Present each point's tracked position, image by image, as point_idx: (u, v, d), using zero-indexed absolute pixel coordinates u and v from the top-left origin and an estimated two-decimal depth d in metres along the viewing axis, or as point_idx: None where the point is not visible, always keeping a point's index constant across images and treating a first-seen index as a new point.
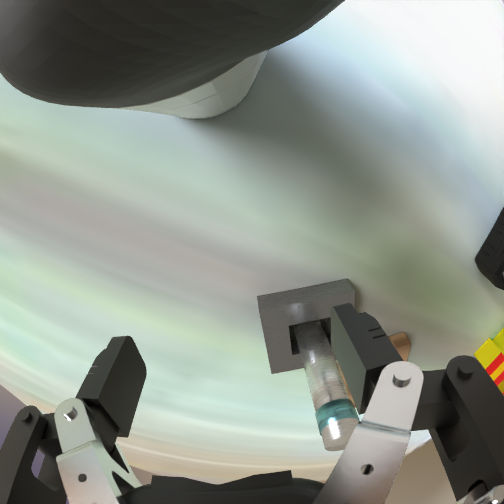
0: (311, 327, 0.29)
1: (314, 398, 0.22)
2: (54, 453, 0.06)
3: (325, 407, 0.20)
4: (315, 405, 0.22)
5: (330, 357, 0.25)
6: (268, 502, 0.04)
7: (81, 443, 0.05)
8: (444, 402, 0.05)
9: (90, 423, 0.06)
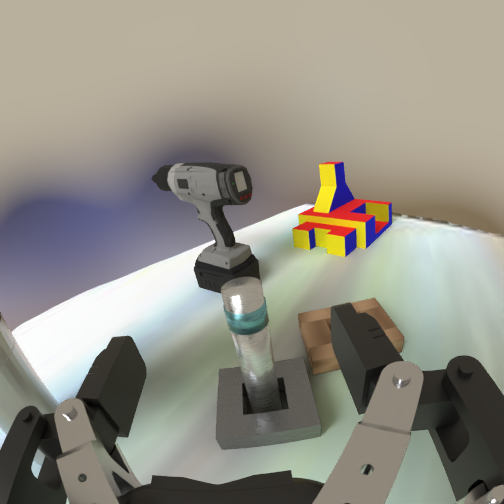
0: (248, 395, 0.27)
1: (245, 347, 0.23)
2: (54, 453, 0.06)
3: (230, 327, 0.23)
4: (245, 341, 0.22)
5: None
6: (268, 502, 0.04)
7: (81, 443, 0.05)
8: (444, 402, 0.05)
9: (90, 423, 0.06)
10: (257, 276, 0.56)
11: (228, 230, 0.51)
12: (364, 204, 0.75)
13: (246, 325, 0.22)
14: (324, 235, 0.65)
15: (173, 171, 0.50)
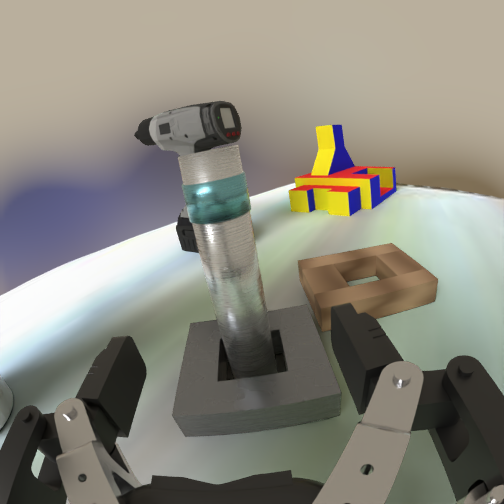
0: None
1: (213, 249, 0.15)
2: (54, 453, 0.06)
3: (190, 215, 0.15)
4: (213, 235, 0.14)
5: None
6: (268, 502, 0.04)
7: (81, 443, 0.05)
8: (444, 402, 0.05)
9: (90, 423, 0.06)
10: None
11: None
12: (366, 169, 0.67)
13: (213, 203, 0.14)
14: (325, 196, 0.58)
15: (155, 118, 0.42)
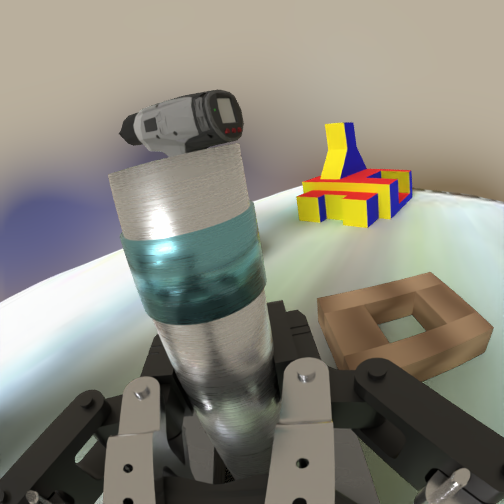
0: None
1: (191, 366, 0.07)
2: None
3: (141, 299, 0.07)
4: (189, 345, 0.06)
5: None
6: None
7: (142, 428, 0.06)
8: (351, 402, 0.06)
9: (160, 409, 0.07)
10: None
11: None
12: (380, 172, 0.60)
13: (181, 286, 0.06)
14: (338, 203, 0.50)
15: (140, 113, 0.35)
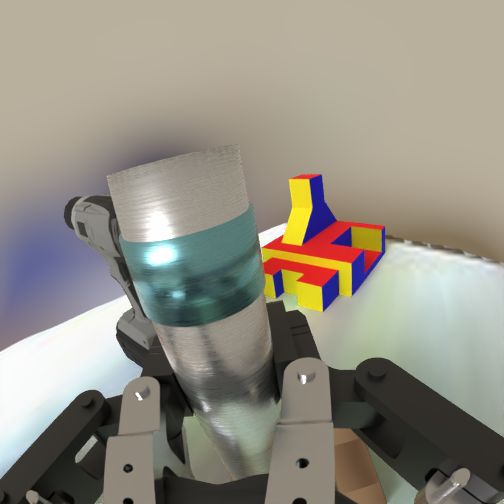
0: None
1: (191, 368, 0.07)
2: None
3: (140, 301, 0.07)
4: (188, 347, 0.06)
5: None
6: None
7: (142, 428, 0.06)
8: (351, 403, 0.06)
9: (160, 409, 0.07)
10: None
11: None
12: (349, 229, 0.59)
13: (180, 288, 0.06)
14: (295, 280, 0.49)
15: (74, 209, 0.32)
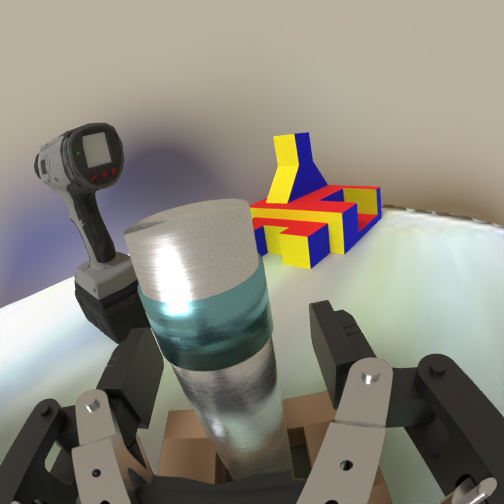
0: None
1: (206, 401, 0.07)
2: (71, 448, 0.06)
3: (159, 345, 0.07)
4: (204, 386, 0.07)
5: None
6: (268, 502, 0.04)
7: (100, 436, 0.05)
8: (415, 400, 0.06)
9: (112, 417, 0.06)
10: None
11: (100, 234, 0.28)
12: (341, 191, 0.54)
13: (198, 342, 0.06)
14: (279, 236, 0.43)
15: (40, 151, 0.27)
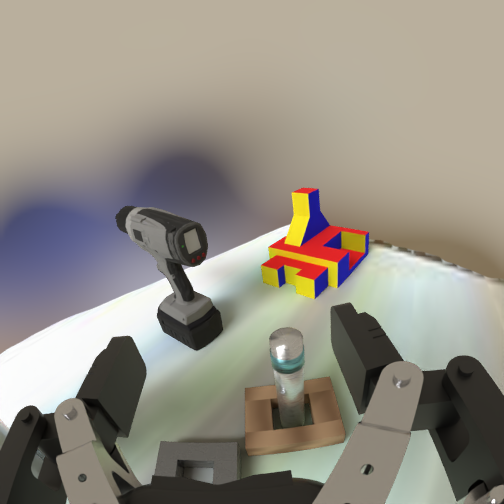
0: (279, 412, 0.32)
1: (285, 381, 0.27)
2: (54, 453, 0.06)
3: (274, 367, 0.27)
4: (286, 377, 0.27)
5: None
6: (268, 502, 0.04)
7: (81, 443, 0.05)
8: (444, 402, 0.05)
9: (90, 423, 0.06)
10: (219, 327, 0.52)
11: (186, 284, 0.48)
12: (339, 233, 0.73)
13: (288, 368, 0.26)
14: (294, 273, 0.63)
15: (129, 219, 0.47)
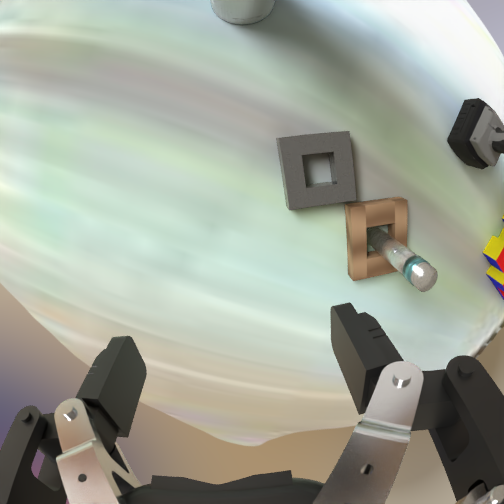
0: (381, 232, 0.41)
1: (398, 261, 0.33)
2: (54, 453, 0.06)
3: (409, 259, 0.31)
4: (401, 264, 0.33)
5: None
6: (268, 502, 0.04)
7: (81, 443, 0.05)
8: (444, 402, 0.05)
9: (90, 423, 0.06)
10: (468, 163, 0.38)
11: None
12: None
13: (406, 273, 0.31)
14: None
15: None
